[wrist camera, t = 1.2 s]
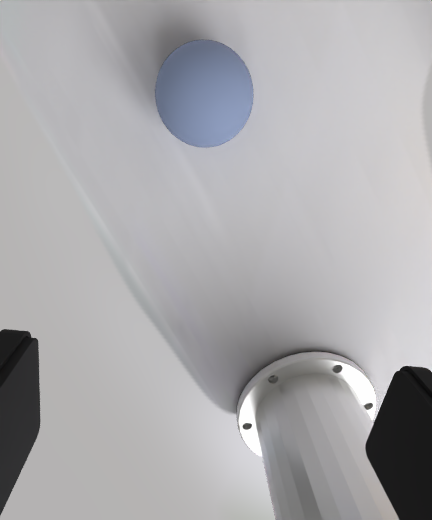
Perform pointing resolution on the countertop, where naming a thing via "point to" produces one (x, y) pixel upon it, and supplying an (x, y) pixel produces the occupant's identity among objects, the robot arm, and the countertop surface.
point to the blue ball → (204, 93)
